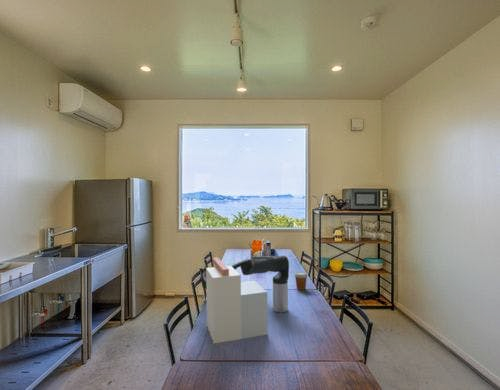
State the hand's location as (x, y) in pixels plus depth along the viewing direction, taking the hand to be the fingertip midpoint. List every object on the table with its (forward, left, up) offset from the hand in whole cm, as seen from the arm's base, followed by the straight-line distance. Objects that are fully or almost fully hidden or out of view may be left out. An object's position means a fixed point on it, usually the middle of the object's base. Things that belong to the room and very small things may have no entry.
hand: (213, 267), depth 177 cm
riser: (+26, +7, -28) cm, 39 cm away
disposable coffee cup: (-21, +70, -28) cm, 78 cm away
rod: (+20, 0, +4) cm, 20 cm away
